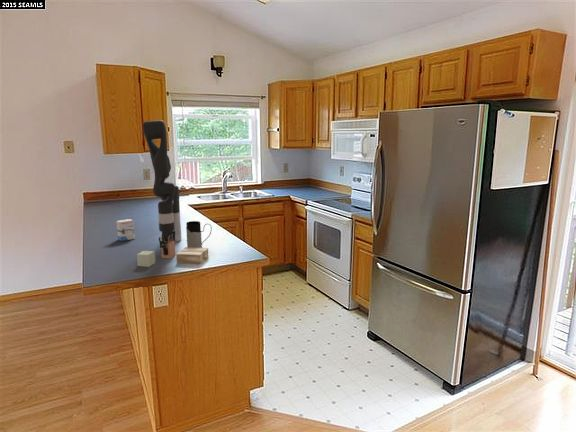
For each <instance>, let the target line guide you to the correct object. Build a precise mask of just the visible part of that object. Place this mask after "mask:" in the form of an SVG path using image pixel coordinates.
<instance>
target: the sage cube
mask: <svg viewBox="0 0 576 432" xmlns="http://www.w3.org/2000/svg"><path fill="white" fill-rule="evenodd" d="M136 260H137V261H136V262H137V267H146V268H147V267H148V268H150V267H151V266H152V265H154V264H156V252H155V251H154V250H142V251H140V252H139V253H136Z"/></svg>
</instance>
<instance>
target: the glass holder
mask: <svg viewBox="0 0 576 432" xmlns="http://www.w3.org/2000/svg"><path fill="white" fill-rule="evenodd" d="M185 225H186V227H185V229H186V247H194V248H203V244H204V242H205V241H207V240H208V238H209V237H210V236H211V234H212V225H211V224H210V223H204V225H203V230H201V229H202V227H201V221H197V220H191V221H187V222H186V223H185ZM207 225H209V226H210V233H209V235H207V237H206V238H205V239H204V240H203V241H202V233H203V232H204V231H205V226H207Z"/></svg>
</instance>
